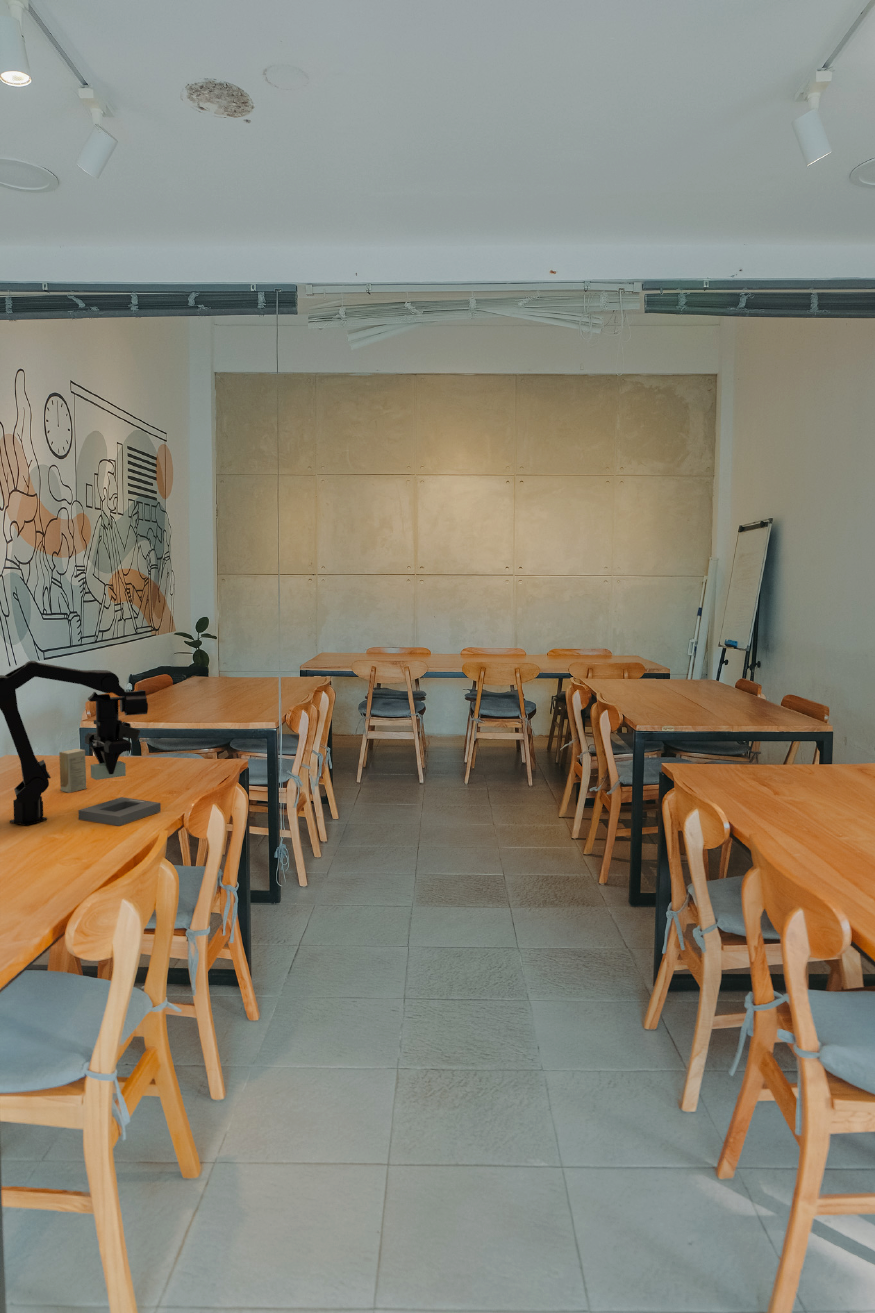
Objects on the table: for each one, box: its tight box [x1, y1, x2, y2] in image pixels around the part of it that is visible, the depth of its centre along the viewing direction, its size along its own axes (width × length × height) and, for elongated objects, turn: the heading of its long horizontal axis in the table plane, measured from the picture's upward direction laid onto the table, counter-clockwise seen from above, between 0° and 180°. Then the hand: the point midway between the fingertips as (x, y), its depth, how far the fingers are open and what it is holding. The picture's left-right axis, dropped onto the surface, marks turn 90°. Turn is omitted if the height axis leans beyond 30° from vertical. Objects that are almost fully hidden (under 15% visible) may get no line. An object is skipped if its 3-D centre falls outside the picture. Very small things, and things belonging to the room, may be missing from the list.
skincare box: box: [59, 748, 87, 794], centre depth 247 cm, size 6×4×12 cm
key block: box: [90, 760, 127, 781], centre depth 223 cm, size 4×8×4 cm, turn 132°
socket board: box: [77, 796, 162, 827], centre depth 221 cm, size 16×14×3 cm
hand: (108, 772), depth 223 cm, fingers closed on key block, 4 cm apart
